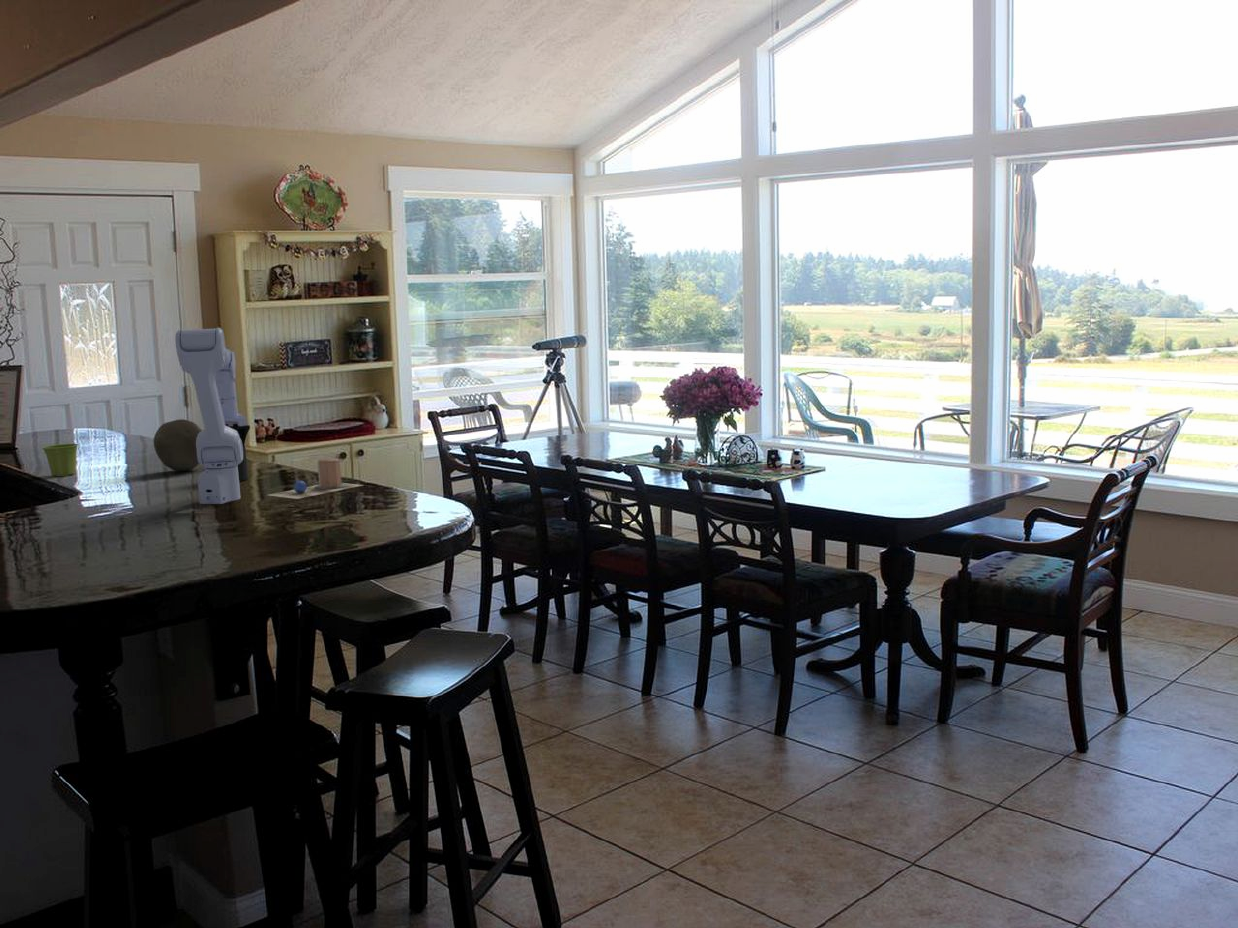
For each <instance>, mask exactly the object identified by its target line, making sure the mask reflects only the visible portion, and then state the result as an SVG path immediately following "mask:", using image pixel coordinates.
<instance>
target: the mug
mask: <svg viewBox="0 0 1238 928" xmlns="http://www.w3.org/2000/svg"><path fill="white" fill-rule="evenodd" d="M238 475H239V483H240V482H245V481H247V480H249V472H248V460H247V449H246V446H245V445H244V451H243V461H242V462H241V463H239V464H238Z"/></svg>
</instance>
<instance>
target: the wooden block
mask: <svg viewBox="0 0 1238 928" xmlns="http://www.w3.org/2000/svg"><path fill="white" fill-rule="evenodd" d="M317 470H318V471H317V473H318V483H319V484H318V485H319V486H320V487H321V488H331V487H338V486H341V485H342V483H343V482H342V473H341V461H340V458H335V457H334V458H321V459H319V460H318V461H317Z"/></svg>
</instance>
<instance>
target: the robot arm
mask: <svg viewBox="0 0 1238 928" xmlns="http://www.w3.org/2000/svg"><path fill="white" fill-rule="evenodd" d="M174 339H175V341H174V342H175V349H176V354H177V359H178V363H179V365H180V367H181V370H182V371H183V372H184V373H187V374H189V376H190V378H191V380H192V383H193V385H194V389H195V394H196V398H197V402H198V406H199V411H200V414H201V417H202V419H201V420H202V422H203V427H204V428H203V429H201V430H202V431H201V432H200V433H198V436H197V438H196V449H197V458H198V462H199V465H200V466H201V467H203V469H204V471H201V473H199V475H198V477H197V488H198V490H197V491H198V499H199V504H200V505H202V504H203V505H205V504H207V505H211V504H212V505H222V504H225V503H229V502H233V501H237V500H240V499H241V498H242V497H241V490H240V488H241V487H240V482H239V475H238V464H239V463H241V462H242V461H243V451H244V446H245V445H246V444H245V443H246V438H247V436H248V433H249V432H250V429H251V426H250V425H249V424H248V419H247V417H246V416H243V414H242V413H239V410H238V399H237V388H236V380H235V379H236V378H237V377H236V374H237V373H236V364H237V363H236V362H237V361H236V356H235V351H231V349H227V347H226V339H225V333H224V330H223V329H222V328H221V327H216V328H200V329H197V328H196V329H177V331H176V332H175V338H174ZM229 425H231V426H229Z"/></svg>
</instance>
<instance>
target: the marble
mask: <svg viewBox="0 0 1238 928" xmlns="http://www.w3.org/2000/svg"><path fill="white" fill-rule="evenodd" d="M307 487H308V486H307V483H306V482H305V481H303V480H297V481H296V482H295V483H294V484H293V490H295V491H296V492H297V493H303V492H305V490H306V488H307Z"/></svg>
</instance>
